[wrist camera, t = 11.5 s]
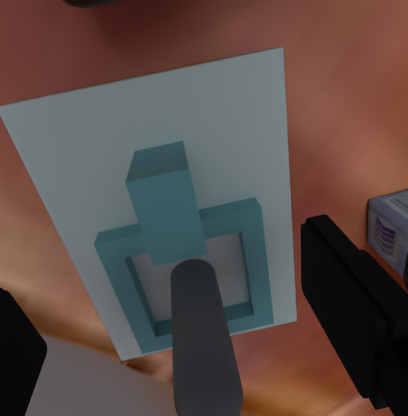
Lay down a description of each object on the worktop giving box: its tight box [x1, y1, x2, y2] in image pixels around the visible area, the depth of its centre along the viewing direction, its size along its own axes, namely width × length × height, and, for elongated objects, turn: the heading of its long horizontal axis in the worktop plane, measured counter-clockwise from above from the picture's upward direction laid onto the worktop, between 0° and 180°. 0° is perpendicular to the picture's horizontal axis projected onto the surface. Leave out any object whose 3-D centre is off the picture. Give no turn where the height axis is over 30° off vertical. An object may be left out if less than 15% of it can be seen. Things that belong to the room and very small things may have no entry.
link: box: [94, 141, 274, 354], centre depth 20 cm, size 16×11×5 cm
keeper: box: [0, 47, 297, 416], centre depth 17 cm, size 22×16×12 cm
